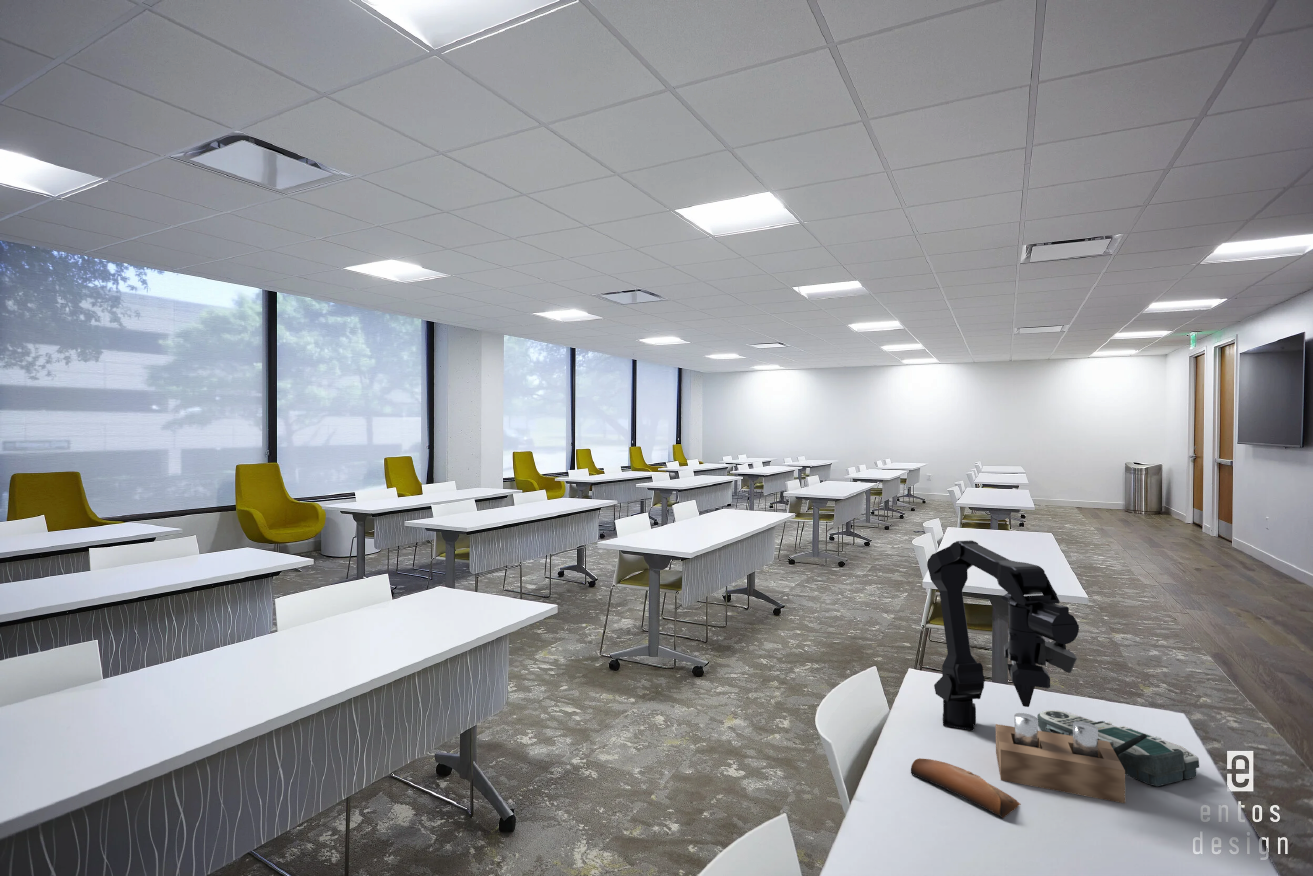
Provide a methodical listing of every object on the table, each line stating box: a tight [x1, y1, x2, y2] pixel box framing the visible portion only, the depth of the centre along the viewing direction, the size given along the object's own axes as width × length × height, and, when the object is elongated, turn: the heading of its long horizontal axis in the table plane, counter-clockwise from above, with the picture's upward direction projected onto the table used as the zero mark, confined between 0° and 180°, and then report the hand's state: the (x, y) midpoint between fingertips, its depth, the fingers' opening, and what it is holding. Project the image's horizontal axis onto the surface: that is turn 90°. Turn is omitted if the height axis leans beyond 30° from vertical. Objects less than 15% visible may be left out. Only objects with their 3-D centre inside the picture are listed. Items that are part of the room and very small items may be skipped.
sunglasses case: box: [910, 757, 1022, 820], centre depth 120 cm, size 18×7×7 cm
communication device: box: [1036, 709, 1200, 787], centre depth 135 cm, size 14×28×10 cm, turn 18°
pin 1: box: [1014, 712, 1039, 748], centre depth 127 cm, size 4×4×6 cm
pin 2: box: [1073, 722, 1098, 758], centre depth 123 cm, size 4×4×6 cm
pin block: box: [995, 723, 1126, 804], centre depth 125 cm, size 20×12×6 cm, turn 66°
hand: (1025, 706), depth 127 cm, fingers closed
